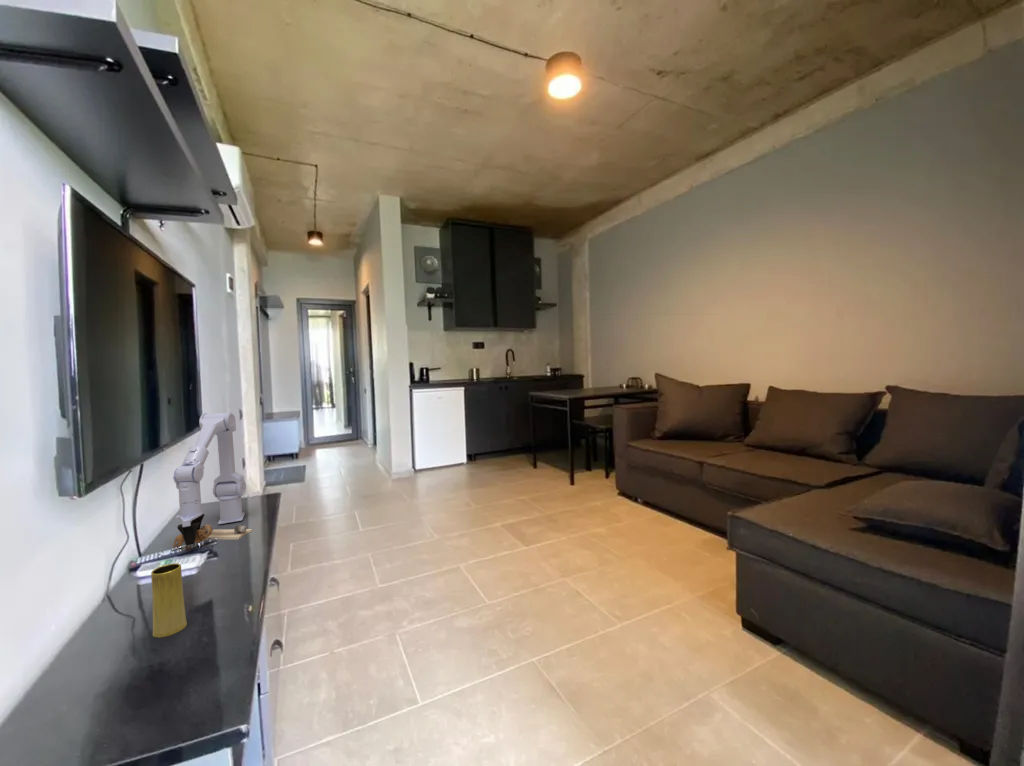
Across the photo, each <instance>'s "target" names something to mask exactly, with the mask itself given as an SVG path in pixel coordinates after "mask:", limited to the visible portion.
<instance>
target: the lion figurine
mask: <svg viewBox="0 0 1024 766" xmlns="http://www.w3.org/2000/svg"><path fill="white" fill-rule="evenodd" d="M212 528H213V527H212V525H211V524H205V525H203V526H202V527H200V529H199V530H197V531H196V538H195V543H196V544H197V543H200V542H201V543H202V542H204V541H207V540H208V539H207V538H208V537H209V536H210V535H211V534H212V530H213V529H212ZM184 543H185V541H184V538H183V535H182V534H181V533H180V534H179V535H177V536H176V537H175V539H174V542H173V545H172V548H174V549H175V547H177V546H178V547H177V548H179V547H180V546H182V547H183V544H184Z"/></svg>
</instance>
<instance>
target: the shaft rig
mask: <svg viewBox="0 0 1024 766" xmlns="http://www.w3.org/2000/svg"><path fill="white" fill-rule="evenodd" d="M247 527H248V526H247V525H243V524H242V523H241V524H237V525H236V526H234V527H233V529H232V528H231V529H227V528H226V529H225V528H224V529H221V528H220V529H212V534H211V535H210V536H209V537H208V538H218V539H217V540H240V539H242V538H243V537H242V536H244V535H246V534H247V533H249V532H251V531H252V532H253V528H247ZM252 532H251V533H252ZM249 534H250V533H249ZM247 535H248V534H247ZM247 535H246V536H247ZM241 537H242V538H241ZM244 537H245V536H244ZM239 538H240V539H239Z"/></svg>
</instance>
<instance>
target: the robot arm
mask: <svg viewBox="0 0 1024 766" xmlns="http://www.w3.org/2000/svg"><path fill="white" fill-rule="evenodd" d="M198 423H199V428H200V431H199V434H198V436H197V438H196V439H197V440H196V442H195V445H194V446H191V447H190V448H189V450H188V451H187V453H186V456H185V457H184V460H183V462H182V463H181V465H179V466H177V468H175V470H174V472H173V477H172V479H173V482H174V483H175V487H176V489H177V490H178V503H179V514H177V515H176V516H175V519H176V520H177V519H180V521H181V523H182V524H178V525H177V526H176V528H177V530H178V531H179V532H180V535H181V534H182V535H183V538H184V541H185V542H184V543H185V546H191V545H195V543H196V542H195V538H196V531H197V530H199V529H200V528H201V526H202V522H203V520H204V517H205V513H203V511H202V497H201V481H202V480H203V478H204V472H205V471H204V470H205V466H204V465H205V463H206V461H207V458H208V455H209V454H210V453H209V450H208V448H209V446H210V444H211V442H212V441H213V439H214V437H215V436H217V437H216V438H217V448H218V449H217V450H218V451H217V452H218V464H219V465H218V466H219V475H218V476H217V477H216V478H215V479H214V480H213V486H212V487H213V488H212V494H213V496H214V497H215V498H216V499H217V501H219V518H220V519H219V520H218V522H217V524H218V525H223V524H228V523H229V524H230V523H235V522H241V521H243V520H244V516H245V512H243V508H242V496H243V495H244V494H245V493H246V490H247V484H246V480H245V477H244V475H243V474H241V473H238V472H237V471H236V463H235V462H236V461H235V450H234V449H235V448H234V447H235V446H234V435H233V434H234V432H236V430H237V424H236V416H235V414H234V413H232V412H231V411H227V412H211V413H209V412H204V413H202V414H201V416H200V417H199V421H198Z"/></svg>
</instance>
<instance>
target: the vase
mask: <svg viewBox="0 0 1024 766" xmlns="http://www.w3.org/2000/svg"><path fill="white" fill-rule="evenodd" d="M150 574H151V575H150V577H151V590H152V592H151V593H152V633H151V634H152V637H155V638H165V637H170V636H172V635H175V634H177V633H179V632H180V631H182V630H185V628H186V627H187V625H188V621H187V617H186V609H185V600H184V599H185V598H184V589H183V588H184V587H183V577H182V576H183V575H182V564H180V563H176V562H175V563H168V564H164V565H161V566H158V567H156V568H155V569H153V570H152V571H151V573H150Z"/></svg>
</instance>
